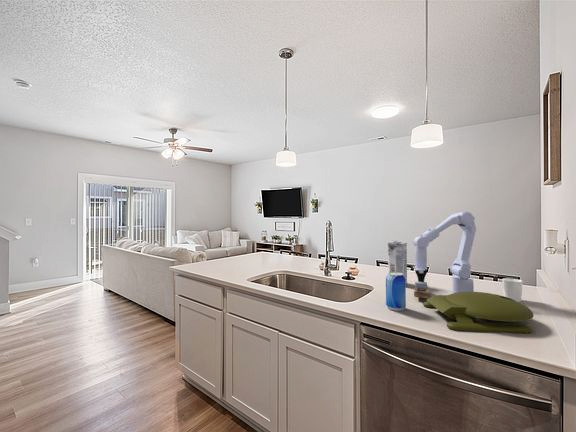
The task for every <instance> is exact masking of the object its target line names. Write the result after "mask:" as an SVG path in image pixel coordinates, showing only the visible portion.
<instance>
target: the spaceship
mask: <svg viewBox="0 0 576 432" xmlns="http://www.w3.org/2000/svg"><path fill="white" fill-rule="evenodd" d="M422 306H424V307H425V308H430V309H437V310H438V311H440V313H441V314H443V315H444V316H446V317H447V318H449V319H450V320H456V321H449V322H447V323H446V327H447V328H448V329H450V330H452V331H458V332H459V331H461V332H484V333H485V332H486V333H489V332H490V333H507V334H509V333H511V334H532V333H534V330H535V329H534V328H533V327H532V326H530V325H528V324H519V323H518V324H517V323H516V324H515V323H491V322H490V323H487V322H474V321H473V319H475V318H477V319H481V320H482V319H484V320H490V321H498V322H499V321H500V322H525V321H530V320H532V319H533V318H534V313H533V311H532V309H531V308H529V307H528V306H527V305H525V304H524V303H521V302H516V301H515V300H513V299H510V298H507V297H504V295H499V294H495V293H490V292H483V291H474V292H457V293H453V294H452V293H450V294H433V295H432V296H429V298H426V301H424V302H423V303H422Z"/></svg>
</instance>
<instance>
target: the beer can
mask: <svg viewBox="0 0 576 432" xmlns="http://www.w3.org/2000/svg"><path fill="white" fill-rule="evenodd" d="M406 284H407V283H406V280H405V277H404V276H403V273H399V272H389V273H388V272H387V275H386V277H385V305H386V307H387V309H389V310H390V311H395V312H402V311H404V310H405V309H406V307H407V301H406V300H407V298H406V297H407V295H406V294H407V293H406V292H407V291H406V286H407V285H406Z"/></svg>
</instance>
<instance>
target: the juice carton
mask: <svg viewBox="0 0 576 432" xmlns="http://www.w3.org/2000/svg"><path fill="white" fill-rule="evenodd" d="M407 244H408V243H407V242H403V241H402V242H401V241H398V240H392V241H391V242H387V264H388V266H387V268H388V269H387V270H388V272H387V274H388V273H389V272H399V273H403V276H404V277H405V280H406V284H407V283H408V264H407V263H408V258H407V257H408V254H407V253H408V249H407V248H408V247H407Z"/></svg>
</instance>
